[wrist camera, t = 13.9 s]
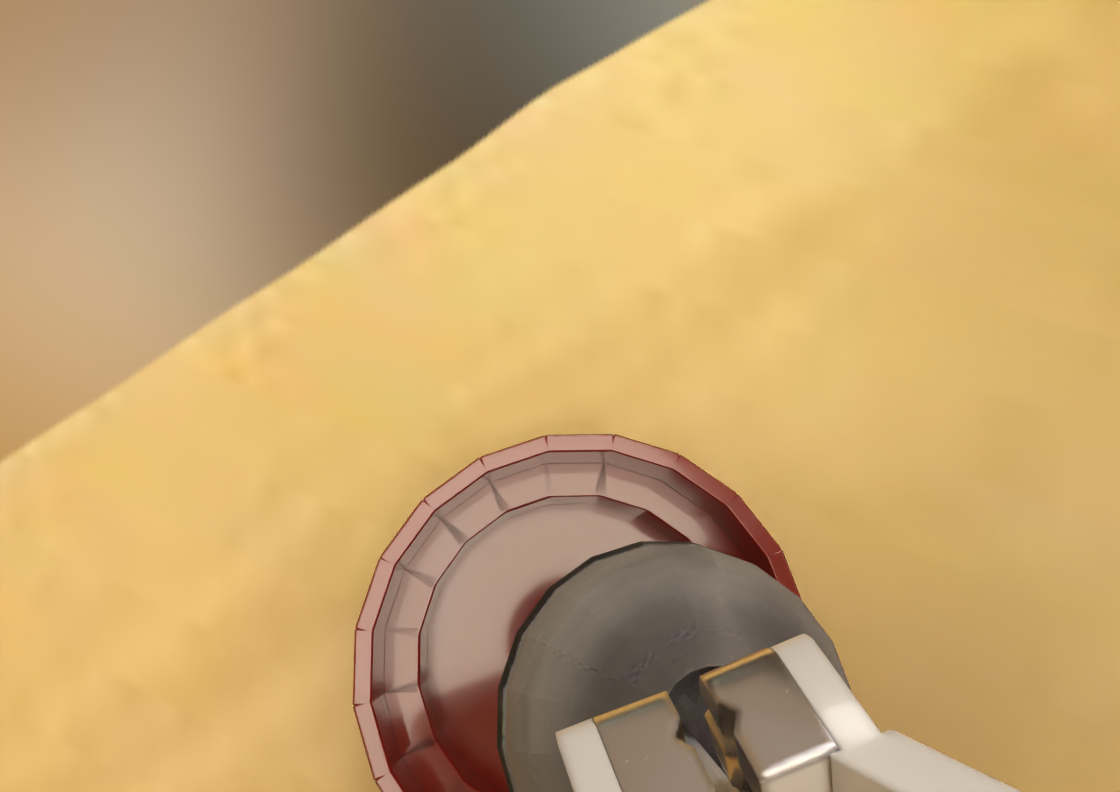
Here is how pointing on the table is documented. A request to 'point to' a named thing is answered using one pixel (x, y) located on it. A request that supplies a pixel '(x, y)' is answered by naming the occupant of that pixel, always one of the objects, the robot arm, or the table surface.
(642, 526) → the bowl
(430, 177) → the table surface
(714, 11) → the table surface
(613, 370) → the table surface
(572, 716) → the beverage cup
